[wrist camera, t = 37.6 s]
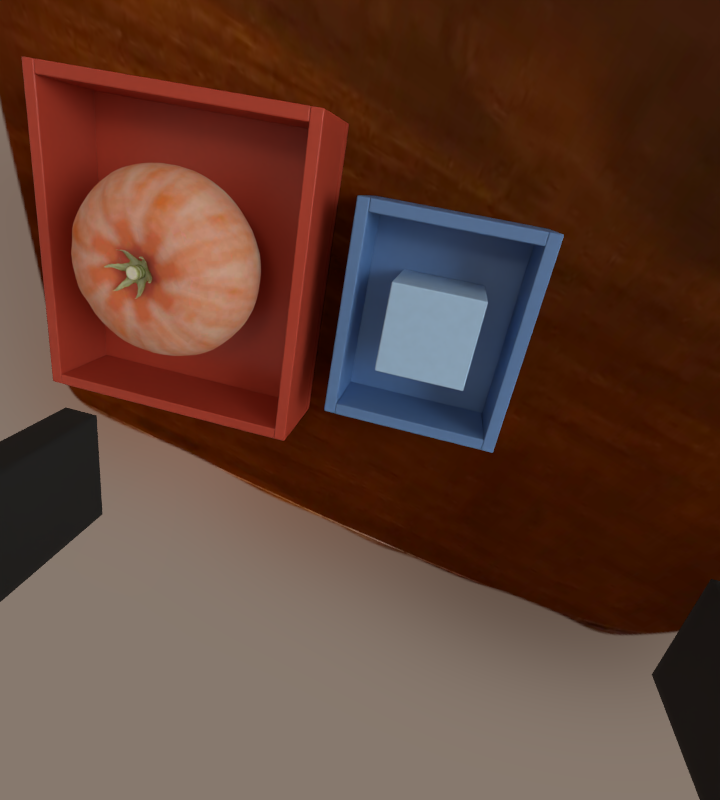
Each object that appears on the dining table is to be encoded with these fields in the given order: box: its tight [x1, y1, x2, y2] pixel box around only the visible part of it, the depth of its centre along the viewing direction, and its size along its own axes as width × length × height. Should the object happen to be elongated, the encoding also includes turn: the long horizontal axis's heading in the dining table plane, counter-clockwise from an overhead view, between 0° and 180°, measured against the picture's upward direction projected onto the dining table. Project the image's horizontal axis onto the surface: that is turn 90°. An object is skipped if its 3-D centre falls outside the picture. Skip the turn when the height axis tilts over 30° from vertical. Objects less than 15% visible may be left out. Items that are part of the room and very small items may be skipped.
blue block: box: [375, 269, 488, 391], centre depth 28 cm, size 5×5×5 cm
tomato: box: [71, 163, 261, 356], centre depth 28 cm, size 11×11×8 cm
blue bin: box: [324, 195, 564, 453], centre depth 29 cm, size 10×12×5 cm
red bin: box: [22, 57, 349, 441], centre depth 30 cm, size 16×18×5 cm
